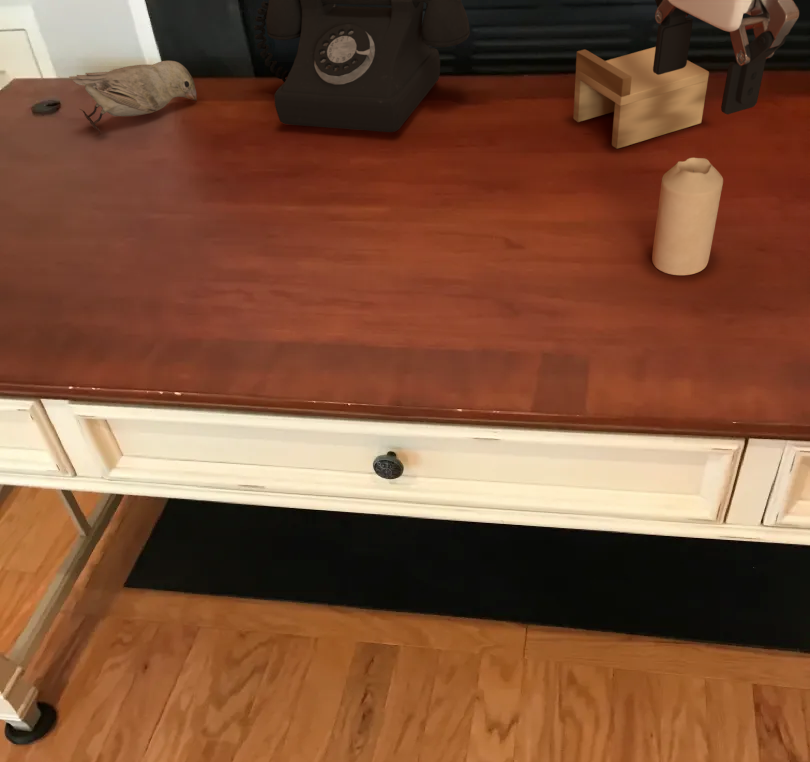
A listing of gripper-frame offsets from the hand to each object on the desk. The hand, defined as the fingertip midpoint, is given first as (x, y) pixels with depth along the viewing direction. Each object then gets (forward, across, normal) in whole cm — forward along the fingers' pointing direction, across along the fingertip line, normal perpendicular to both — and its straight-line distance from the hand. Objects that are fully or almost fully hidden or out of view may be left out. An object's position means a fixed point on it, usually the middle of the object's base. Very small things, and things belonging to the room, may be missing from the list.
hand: (702, 89), depth 78 cm
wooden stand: (+17, +29, -15) cm, 36 cm away
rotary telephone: (+17, +54, +13) cm, 58 cm away
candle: (+17, 0, 0) cm, 17 cm away
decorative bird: (+18, +69, +39) cm, 81 cm away
